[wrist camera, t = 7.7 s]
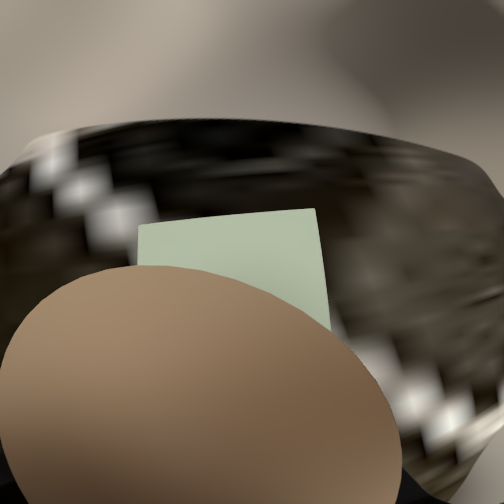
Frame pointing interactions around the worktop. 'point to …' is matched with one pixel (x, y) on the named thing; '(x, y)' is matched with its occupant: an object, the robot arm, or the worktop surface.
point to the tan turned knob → (189, 398)
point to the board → (248, 253)
